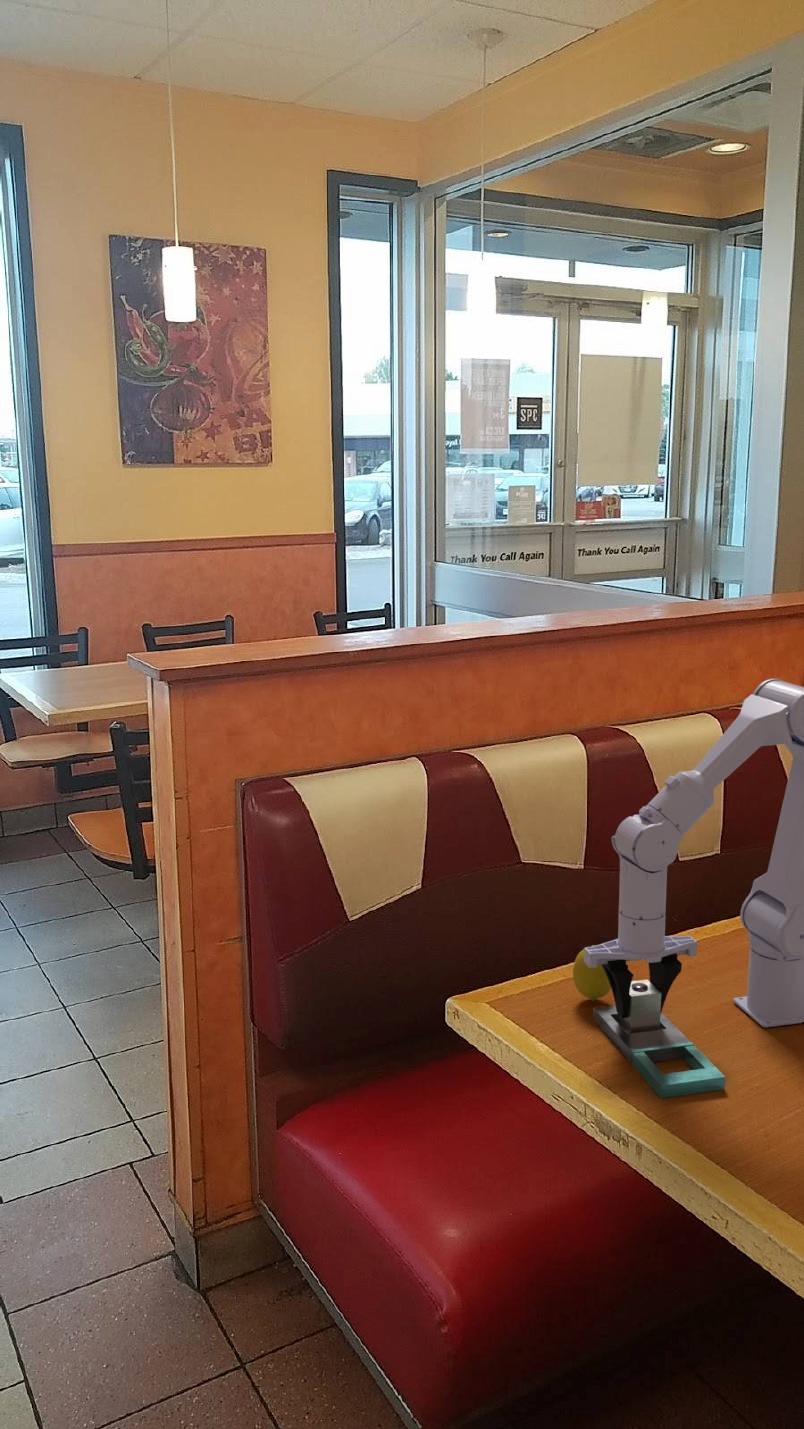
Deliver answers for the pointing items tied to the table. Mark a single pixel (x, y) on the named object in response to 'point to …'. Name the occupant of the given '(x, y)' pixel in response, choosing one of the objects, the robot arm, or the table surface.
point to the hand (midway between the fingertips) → (638, 1012)
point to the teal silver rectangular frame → (662, 1056)
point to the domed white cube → (642, 1008)
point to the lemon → (590, 979)
